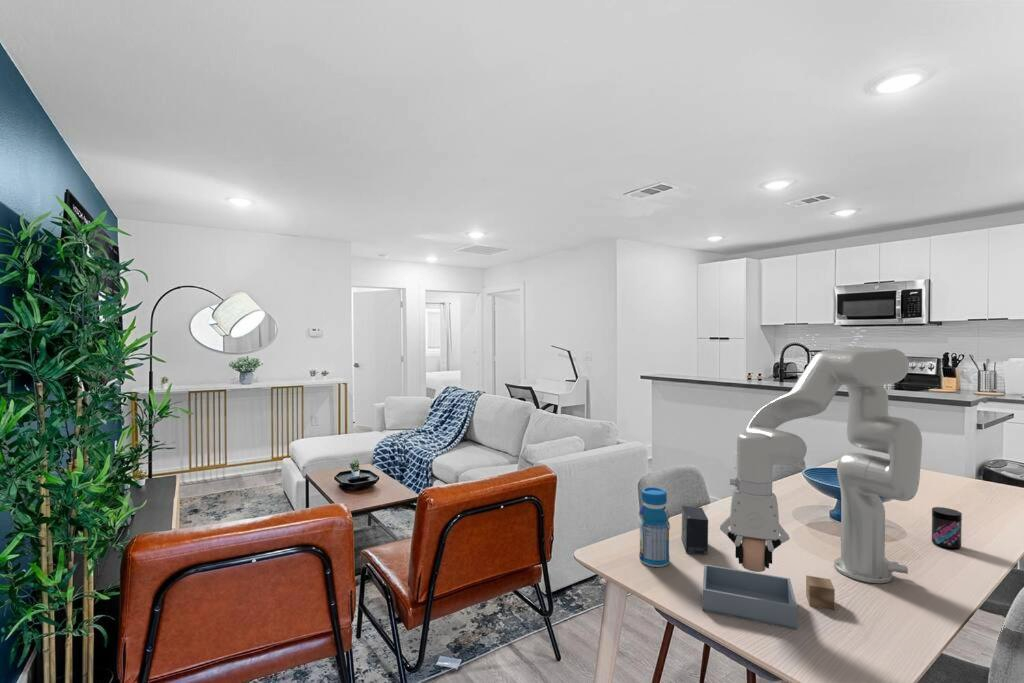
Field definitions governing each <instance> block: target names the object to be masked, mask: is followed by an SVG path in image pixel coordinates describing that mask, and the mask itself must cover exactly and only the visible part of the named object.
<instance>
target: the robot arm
mask: <svg viewBox="0 0 1024 683" xmlns="http://www.w3.org/2000/svg"><path fill="white" fill-rule="evenodd" d="M909 366H910V361H909V358H908V357H907V355H906V354H905V352H903V351H901V350H899V349H896V348H889V347H887V348H886V347H885V348H884V347H857V346H855V347H854V346H853V347H841V348H837V349H832V350H831V349H827V350H822V351H821V350H820V351H819V352H817V353H816V354H815V355H813V356H812V359H811V360H810V361H809V363H808V364H807V366H806V367H805V369H804V370H803V372H802V373H801V375H800V376H799V378H798V379H797V381H796V382H795V384H794V385H793V387H792V389H791V390H790V391H789V392H787V393H785V394H783V395H781V396H780V397H777V398H776V399H774V400H772V401H770V402H769V403H767V404H766V405H764V406H763V407H761V408H760V409H759V410H758V411H757V412H756V413H755V414H754V415H753V417H752V419H751V420H750V421H749V423H748V425H747V426H746V428H745V429H744V431H743V432H741V433H739V434H738V436H737V439H736V477H735V478H733V479H732V478H730V479H729V485H730V486H734V487H735V488H734V489H733V491H732V495H731V500H730V501H731V502H730V513H729V514H730V515H729V516H728V517H727V518H726V519H725V520H724V521H723V522H722V523H721V524H720V525H719V530H720V531H721V532H722V533H723V534H725V535H726V536H727V537H728V538H729V540H731V542H732V543H733V544H734V546H735V559H738V564H740V565H742V538H743V536H744V537H750V538H757V539H764V540H766V550H765V569H770V564H771V565H772V564H773V552H775V549H776V548H778V547H779V546H781V545H782V544H784V543H786V542H788V541H789V540H790V535H789V534H788V533H787V531H786V530H785V529H784V527H783V526H782V524H780V519H779V518H780V517H779V504H778V499H777V495H776V494H775V493H774V492H773V466H774V465H779V466H780V465H784V466H792V465H796V464H799V463H800V462H802V461H803V460H804V458H805V457H806V456H807V450H808V449H807V448H808V447H807V445H806V442H805V440H804V439H803V438H802V437H801V436H799V435H798V434H796V433H791V432H788V431H784V430H779V429H777V428H778V427H780V426H781V425H783V424H784V423H787V422H790V421H794V420H798V419H803V418H808V417H811V416H813V417H814V416H816V415H819V414H822V413H823V412H824V411H826V409H827V408H828V406H829V405H830V403H831V402H832V400H833V398H834V397H835V395H836V393H837V392H838V391H839V389H840V388H841V386H845V387H846V389H847V392H848V409H847V410H848V411H847V426H846V435H847V440H848V442H849V444H851V445H853V446H855V447H857V448H860V449H864V450H868V451H872V452H873V451H874V452H876V453H877V452H878V453H883V454H886V455H887V454H888V455H889V458H886V457H885V458H884V457H881V456H876V455H873V454H867V453H863V452H847V453H845V454H843V455H841V457H840V458H839V459H838V461H837V462H836V463H837V464H836V474H837V478H838V481H839V482H838V483H839V486H840V487H839V488H840V498H841V501H840V502H841V504H840V507H841V510H840V518H841V519H840V557H838V558H836V559H834V561H833V566H834V568H835V569H836V571H838V572H839V573H840V574H842V575H844V576H846V577H848V578H851V579H854V580H857V581H859V582H865V583H869V584H870V583H871V584H886V583H889V582H891V581H892V580H893V572H896V573H899V574H907V575H908V573H909V568H908V566H907V565H903V564H899V562H898V561H895V560H888V559H886V545H885V544H886V510H885V506H884V502H883V501H882V499H881V497H884V498H887V499H892V500H894V501H895V500H896V501H899V502H908V501H911V500H912V499H914V498H915V497H916V495H917V493H918V491H919V490H918V489H919V485H920V478H921V465H922V452H923V437H922V436H923V435H922V432H921V429H920V428H919V426H918V425H917V423H915V422H914V421H913V420H909V419H907V418H903V417H897V416H891V415H889V395H888V392H887V390H886V388H885V385H890V384H896V383H899V382H900V381H902V380H903V379H904V378H906V376H907V375H908V372H909V369H910V367H909ZM880 496H881V497H880ZM729 527H730V529H729Z"/></svg>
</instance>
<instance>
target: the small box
mask: <svg viewBox="0 0 1024 683" xmlns="http://www.w3.org/2000/svg"><path fill="white" fill-rule="evenodd" d="M680 538H681V541H682V545H683V548H684V550H685V553H686V554H695V555H707V556H708V553H709V519H708V516H707V515H706V513H705V511H704V508H703V507H699V506H698V507H697V506H688V505H682V506H681V537H680Z"/></svg>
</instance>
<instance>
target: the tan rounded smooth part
mask: <svg viewBox="0 0 1024 683" xmlns="http://www.w3.org/2000/svg"><path fill="white" fill-rule="evenodd" d="M741 543H742V563H741V566H742V568H744V569H745V570H746V571H749V572H754V573H763V572H765V571H766V567H765V550H766V545H767V543H766V540H764V539H757V538H750V537H744V536H743V538H742V541H741Z"/></svg>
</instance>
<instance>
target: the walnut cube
mask: <svg viewBox="0 0 1024 683" xmlns="http://www.w3.org/2000/svg"><path fill="white" fill-rule="evenodd" d="M805 587H806V588H805V591H806V592H805V594H806V596H805V597H806V600H807V603H808V606H809V607H813V608H820V609H825V610H829V609H830V611H835V602H836V601H835V599H836V598H835V597H836V596H835V594H836V593H835V590H836V589H835V587H834V584H833V582H832V580H831V579H830V578H825V577H819V576H813V575H805Z"/></svg>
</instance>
